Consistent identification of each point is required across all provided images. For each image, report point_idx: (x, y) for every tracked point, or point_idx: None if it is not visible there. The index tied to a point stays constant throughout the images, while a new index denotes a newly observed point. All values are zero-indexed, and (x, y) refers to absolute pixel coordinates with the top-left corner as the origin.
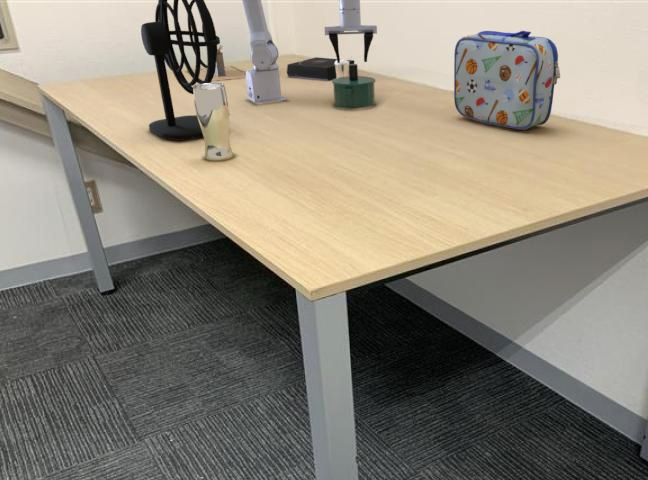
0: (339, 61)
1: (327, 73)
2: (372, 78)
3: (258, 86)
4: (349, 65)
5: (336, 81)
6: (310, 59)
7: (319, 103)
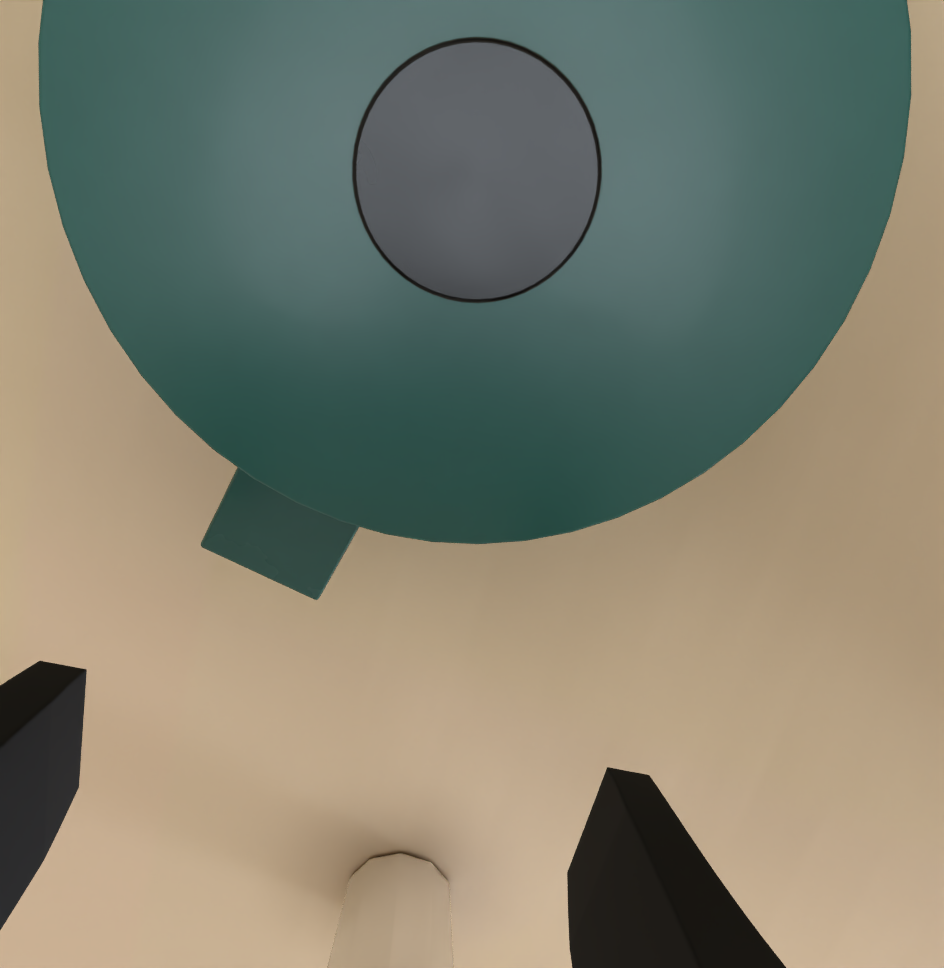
0: (620, 783)
1: None
2: (83, 160)
3: None
4: (596, 132)
5: (835, 145)
6: None
7: (820, 452)
